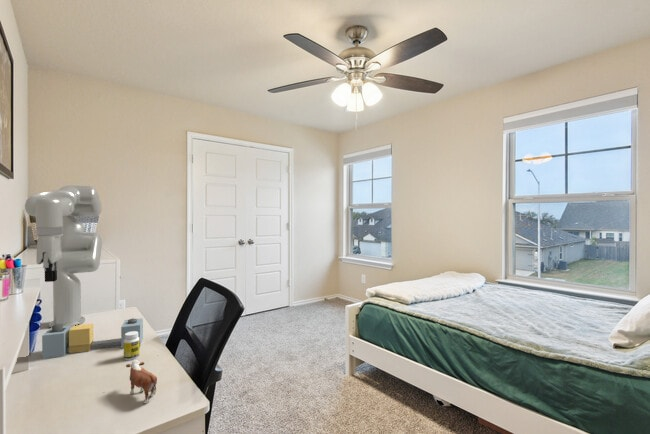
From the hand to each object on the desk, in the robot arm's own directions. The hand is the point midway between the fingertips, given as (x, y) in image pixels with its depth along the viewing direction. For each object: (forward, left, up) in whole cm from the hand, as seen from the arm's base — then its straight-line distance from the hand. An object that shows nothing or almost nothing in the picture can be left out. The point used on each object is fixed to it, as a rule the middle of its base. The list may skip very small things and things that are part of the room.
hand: (51, 280), depth 123 cm
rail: (+9, +16, -24) cm, 30 cm away
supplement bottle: (+22, +29, -24) cm, 44 cm away
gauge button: (+9, +5, -18) cm, 21 cm away
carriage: (+9, +12, -24) cm, 28 cm away
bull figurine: (+49, +35, -24) cm, 65 cm away
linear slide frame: (+9, +16, -24) cm, 30 cm away
